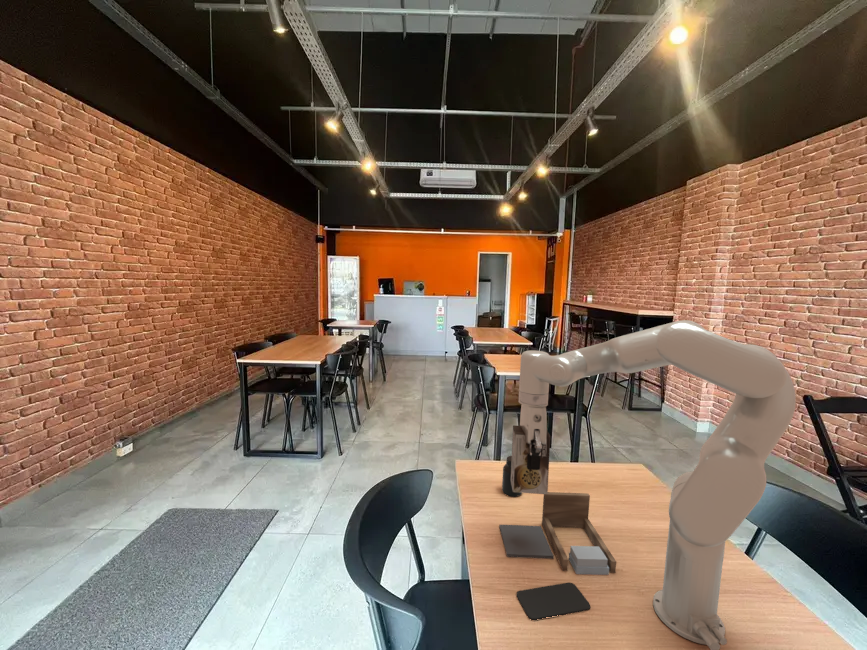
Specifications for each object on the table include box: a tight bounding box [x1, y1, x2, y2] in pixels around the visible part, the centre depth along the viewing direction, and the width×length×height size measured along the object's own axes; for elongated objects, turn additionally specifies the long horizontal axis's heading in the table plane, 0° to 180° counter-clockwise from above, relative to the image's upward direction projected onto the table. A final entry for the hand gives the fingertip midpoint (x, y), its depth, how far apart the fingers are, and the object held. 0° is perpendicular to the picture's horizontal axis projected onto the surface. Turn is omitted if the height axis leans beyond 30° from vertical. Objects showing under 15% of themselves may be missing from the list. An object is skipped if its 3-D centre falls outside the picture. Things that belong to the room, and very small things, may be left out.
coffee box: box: [511, 425, 551, 495], centre depth 98 cm, size 9×6×16 cm
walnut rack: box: [541, 491, 617, 574], centre depth 99 cm, size 18×13×10 cm
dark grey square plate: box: [498, 524, 555, 560], centre depth 100 cm, size 12×12×1 cm
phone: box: [515, 581, 591, 621], centre depth 81 cm, size 7×1×15 cm
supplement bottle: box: [501, 455, 523, 498], centre depth 125 cm, size 7×7×12 cm
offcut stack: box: [568, 545, 610, 576], centre depth 92 cm, size 5×8×4 cm, turn 91°
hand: (529, 461), depth 98 cm, fingers closed on coffee box, 6 cm apart
